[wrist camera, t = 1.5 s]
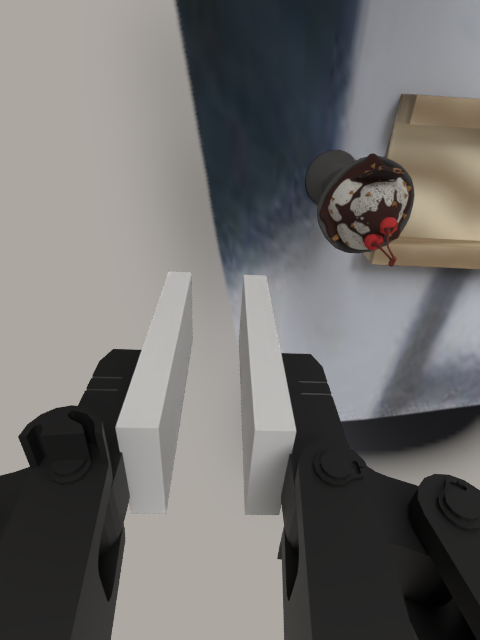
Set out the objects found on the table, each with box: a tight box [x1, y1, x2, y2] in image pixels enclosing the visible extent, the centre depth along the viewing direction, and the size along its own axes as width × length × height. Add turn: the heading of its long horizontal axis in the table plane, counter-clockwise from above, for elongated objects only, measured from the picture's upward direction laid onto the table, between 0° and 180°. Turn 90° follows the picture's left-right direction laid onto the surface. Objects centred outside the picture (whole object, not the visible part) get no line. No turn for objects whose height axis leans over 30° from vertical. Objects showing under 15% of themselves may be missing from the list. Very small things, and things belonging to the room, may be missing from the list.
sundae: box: [306, 150, 415, 267], centre depth 27 cm, size 7×7×15 cm
